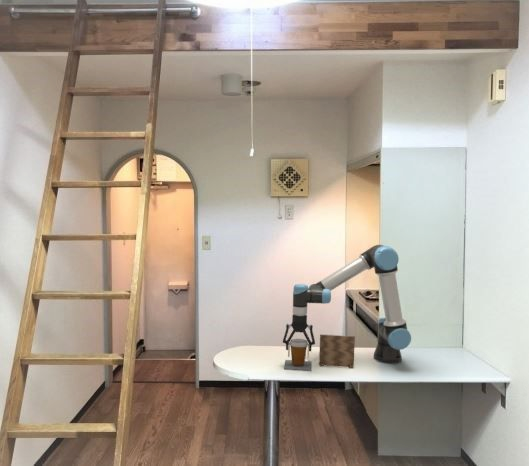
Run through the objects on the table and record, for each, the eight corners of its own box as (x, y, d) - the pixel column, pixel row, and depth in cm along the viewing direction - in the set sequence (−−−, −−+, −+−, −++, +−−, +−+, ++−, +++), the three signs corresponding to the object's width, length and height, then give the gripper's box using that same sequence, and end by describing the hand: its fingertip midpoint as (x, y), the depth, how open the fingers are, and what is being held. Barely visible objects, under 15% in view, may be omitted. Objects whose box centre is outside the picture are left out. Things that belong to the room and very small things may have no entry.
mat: (311, 362, 260) (311, 361, 260) (311, 371, 247) (311, 369, 246) (285, 360, 262) (285, 359, 262) (283, 369, 248) (283, 368, 248)
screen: (353, 365, 258) (354, 335, 257) (353, 368, 253) (355, 337, 252) (318, 363, 260) (320, 333, 259) (319, 366, 255) (320, 336, 254)
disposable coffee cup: (306, 367, 248) (306, 344, 248) (287, 365, 250) (288, 342, 250) (308, 361, 258) (309, 339, 257) (290, 360, 260) (291, 337, 259)
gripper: (321, 313, 255) (319, 355, 257) (279, 311, 258) (277, 353, 259) (321, 316, 248) (319, 360, 249) (278, 314, 250) (276, 357, 251)
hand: (298, 356), depth 254 cm, fingers closed on disposable coffee cup, 9 cm apart
